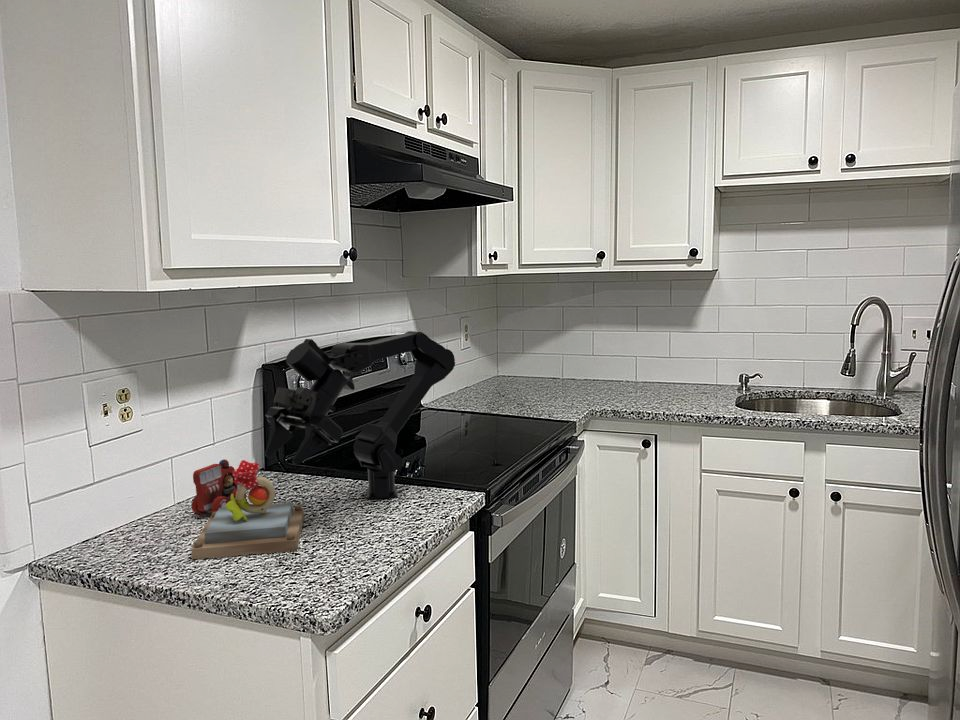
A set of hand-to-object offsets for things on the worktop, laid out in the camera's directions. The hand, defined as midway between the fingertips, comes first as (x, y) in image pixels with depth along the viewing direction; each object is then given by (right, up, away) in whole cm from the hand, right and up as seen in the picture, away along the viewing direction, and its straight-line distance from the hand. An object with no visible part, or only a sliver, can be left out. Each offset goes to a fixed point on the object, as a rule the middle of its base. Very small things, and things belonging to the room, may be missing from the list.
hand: (280, 459), depth 144 cm
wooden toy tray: (-4, -14, -4) cm, 15 cm away
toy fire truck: (-16, -13, +13) cm, 24 cm away
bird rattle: (-5, -10, -4) cm, 12 cm away
